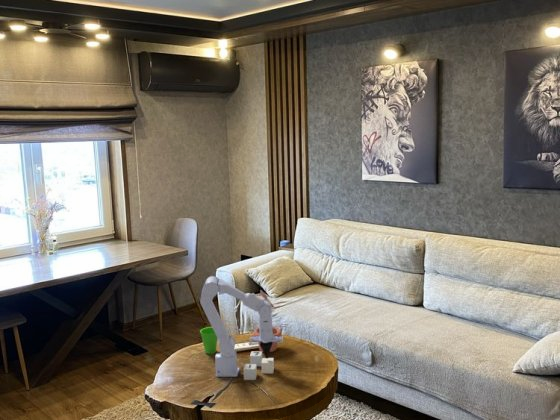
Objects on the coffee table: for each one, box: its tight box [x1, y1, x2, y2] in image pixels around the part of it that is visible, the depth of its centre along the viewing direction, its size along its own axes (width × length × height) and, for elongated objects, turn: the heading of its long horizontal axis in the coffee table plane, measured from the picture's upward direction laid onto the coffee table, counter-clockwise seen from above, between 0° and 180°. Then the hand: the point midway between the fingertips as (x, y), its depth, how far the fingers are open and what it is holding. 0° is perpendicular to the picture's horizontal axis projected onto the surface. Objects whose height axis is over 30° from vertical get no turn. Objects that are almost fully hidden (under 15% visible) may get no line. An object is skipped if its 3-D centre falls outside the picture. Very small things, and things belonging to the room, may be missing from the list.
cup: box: [199, 326, 218, 355], centre depth 274 cm, size 9×9×11 cm
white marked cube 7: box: [249, 350, 263, 367], centre depth 259 cm, size 5×5×5 cm
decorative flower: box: [252, 289, 283, 353], centre depth 272 cm, size 15×14×30 cm
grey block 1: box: [243, 363, 258, 381], centre depth 247 cm, size 5×5×5 cm
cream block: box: [260, 357, 275, 374], centre depth 252 cm, size 5×5×5 cm
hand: (267, 357), depth 251 cm, fingers closed
